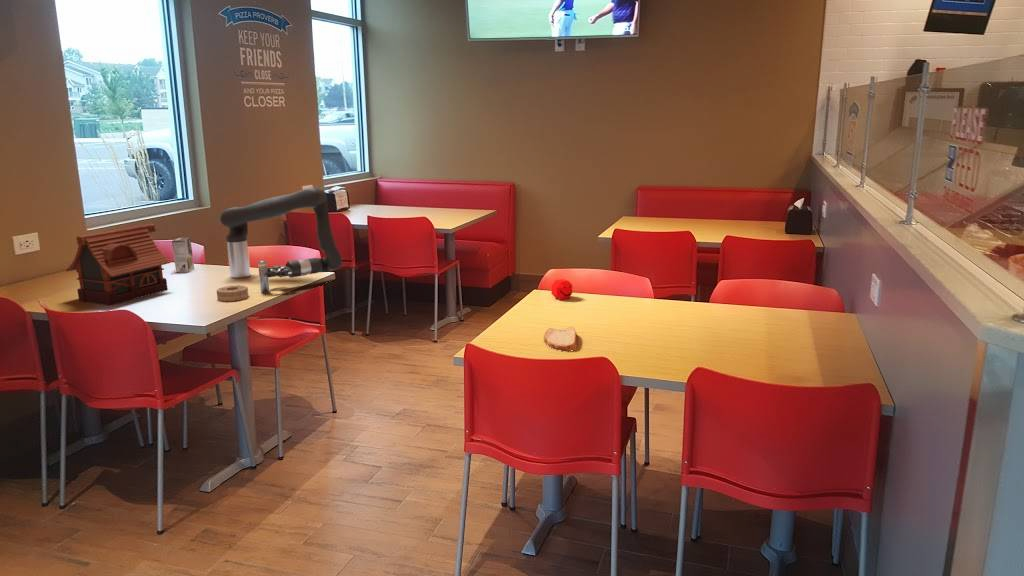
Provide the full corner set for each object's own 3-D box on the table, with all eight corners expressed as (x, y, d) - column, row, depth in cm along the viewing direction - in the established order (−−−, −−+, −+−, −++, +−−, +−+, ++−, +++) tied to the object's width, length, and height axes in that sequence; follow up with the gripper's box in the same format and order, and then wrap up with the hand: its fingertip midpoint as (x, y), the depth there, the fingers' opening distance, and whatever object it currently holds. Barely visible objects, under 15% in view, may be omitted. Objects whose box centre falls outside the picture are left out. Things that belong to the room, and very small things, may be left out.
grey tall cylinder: (259, 292, 320) (256, 261, 317) (267, 290, 322) (264, 259, 319) (262, 293, 317) (259, 262, 314) (270, 292, 320) (267, 261, 316)
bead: (214, 297, 312) (213, 288, 311) (242, 292, 320) (241, 283, 319) (223, 302, 303) (222, 293, 302) (252, 297, 311) (251, 288, 310)
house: (112, 308, 298) (102, 238, 290) (67, 301, 309) (55, 234, 302) (182, 288, 328) (174, 225, 321) (138, 283, 340) (129, 221, 333)
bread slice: (568, 354, 237) (568, 343, 236) (526, 343, 249) (526, 332, 248) (600, 341, 250) (600, 330, 249) (559, 331, 261) (559, 321, 260)
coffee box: (181, 268, 369) (177, 237, 365) (194, 268, 370) (190, 237, 366) (175, 272, 360) (171, 240, 356) (188, 272, 361) (185, 240, 357)
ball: (559, 301, 299) (559, 283, 297) (548, 297, 306) (548, 279, 304) (575, 298, 303) (575, 281, 301) (564, 294, 310) (564, 277, 308)
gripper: (291, 257, 332) (256, 262, 322) (304, 262, 322) (268, 267, 312) (293, 273, 334) (258, 279, 324) (305, 278, 323) (270, 284, 313)
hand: (263, 273), depth 318 cm, fingers open, 8 cm apart
